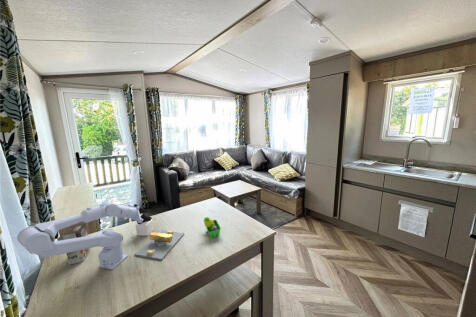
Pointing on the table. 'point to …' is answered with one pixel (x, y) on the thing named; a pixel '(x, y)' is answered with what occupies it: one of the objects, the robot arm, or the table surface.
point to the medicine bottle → (144, 227)
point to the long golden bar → (160, 238)
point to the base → (159, 247)
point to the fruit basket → (212, 227)
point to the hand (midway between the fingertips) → (147, 215)
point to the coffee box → (76, 233)
